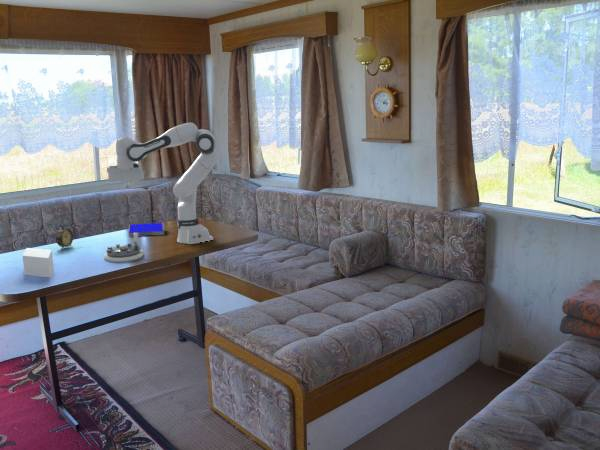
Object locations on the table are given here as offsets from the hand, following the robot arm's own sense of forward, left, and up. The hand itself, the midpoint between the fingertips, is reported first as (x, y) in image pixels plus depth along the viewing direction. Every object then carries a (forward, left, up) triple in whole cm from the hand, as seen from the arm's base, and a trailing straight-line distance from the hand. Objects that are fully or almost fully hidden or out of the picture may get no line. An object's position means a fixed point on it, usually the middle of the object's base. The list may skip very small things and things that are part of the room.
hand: (127, 188), depth 325 cm
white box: (+49, +37, -36) cm, 71 cm away
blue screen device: (-12, -27, -36) cm, 46 cm away
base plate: (+6, +26, -35) cm, 44 cm away
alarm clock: (+38, -8, -35) cm, 52 cm away
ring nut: (+6, +26, -33) cm, 42 cm away
